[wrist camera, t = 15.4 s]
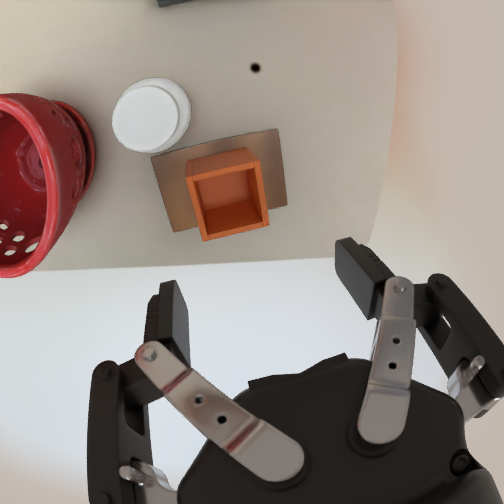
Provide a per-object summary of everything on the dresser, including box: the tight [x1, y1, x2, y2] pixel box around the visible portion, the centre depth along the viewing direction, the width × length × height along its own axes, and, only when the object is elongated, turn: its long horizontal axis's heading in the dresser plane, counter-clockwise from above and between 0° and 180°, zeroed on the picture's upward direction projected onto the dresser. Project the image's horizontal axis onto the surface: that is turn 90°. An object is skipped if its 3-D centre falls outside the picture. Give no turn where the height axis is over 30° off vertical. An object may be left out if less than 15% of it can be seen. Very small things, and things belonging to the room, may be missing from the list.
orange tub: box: [186, 148, 269, 241], centre depth 23 cm, size 6×6×6 cm
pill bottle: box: [112, 77, 191, 153], centre depth 17 cm, size 5×5×10 cm
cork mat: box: [151, 129, 287, 232], centre depth 26 cm, size 12×8×1 cm, turn 99°
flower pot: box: [0, 93, 95, 278], centre depth 15 cm, size 13×13×12 cm
